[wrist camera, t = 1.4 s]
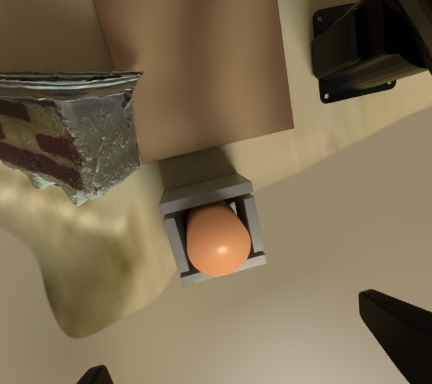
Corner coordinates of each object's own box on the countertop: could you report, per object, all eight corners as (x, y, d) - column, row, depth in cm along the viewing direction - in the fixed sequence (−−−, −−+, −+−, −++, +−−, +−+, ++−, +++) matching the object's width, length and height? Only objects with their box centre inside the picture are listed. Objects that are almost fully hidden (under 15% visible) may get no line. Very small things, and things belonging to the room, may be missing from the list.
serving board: (265, -35, 15) (271, -48, 14) (288, 128, 18) (293, 128, 17) (95, -6, 14) (88, -17, 13) (145, 162, 17) (143, 163, 16)
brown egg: (229, 192, 17) (244, 209, 13) (239, 236, 18) (255, 266, 14) (181, 204, 17) (179, 225, 12) (193, 248, 18) (195, 283, 13)
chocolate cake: (-21, 182, 16) (20, 279, 9) (-91, 68, 12) (-112, 84, 5) (110, 148, 22) (193, 190, 15) (89, 66, 18) (188, 73, 11)
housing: (237, 173, 18) (251, 181, 14) (250, 239, 19) (266, 263, 16) (164, 190, 17) (158, 204, 14) (183, 257, 19) (183, 286, 15)
